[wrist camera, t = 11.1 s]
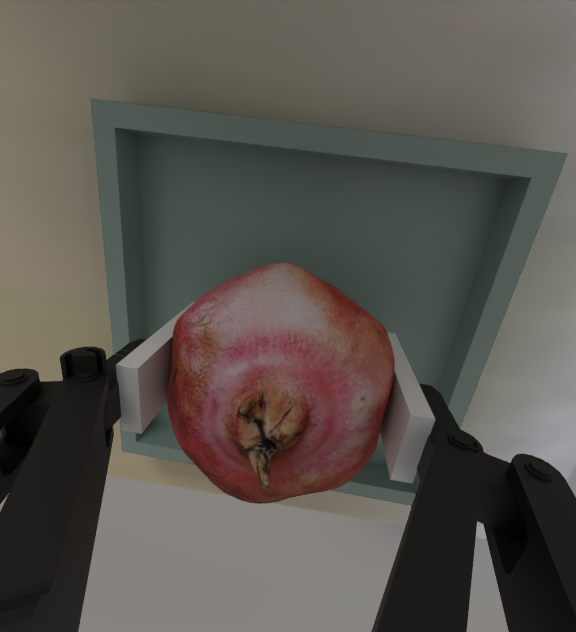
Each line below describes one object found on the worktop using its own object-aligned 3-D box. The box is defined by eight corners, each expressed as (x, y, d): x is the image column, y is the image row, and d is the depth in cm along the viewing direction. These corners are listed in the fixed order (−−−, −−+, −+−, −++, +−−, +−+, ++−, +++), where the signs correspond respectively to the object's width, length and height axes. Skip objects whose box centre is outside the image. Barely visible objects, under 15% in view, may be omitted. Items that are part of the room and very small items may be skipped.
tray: (124, 112, 16) (90, 98, 14) (531, 159, 15) (567, 153, 13) (142, 425, 24) (122, 451, 21) (418, 475, 23) (428, 508, 20)
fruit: (288, 437, 20) (253, 657, 10) (172, 326, 18) (4, 473, 9) (418, 352, 17) (532, 553, 7) (295, 208, 15) (241, 237, 6)
